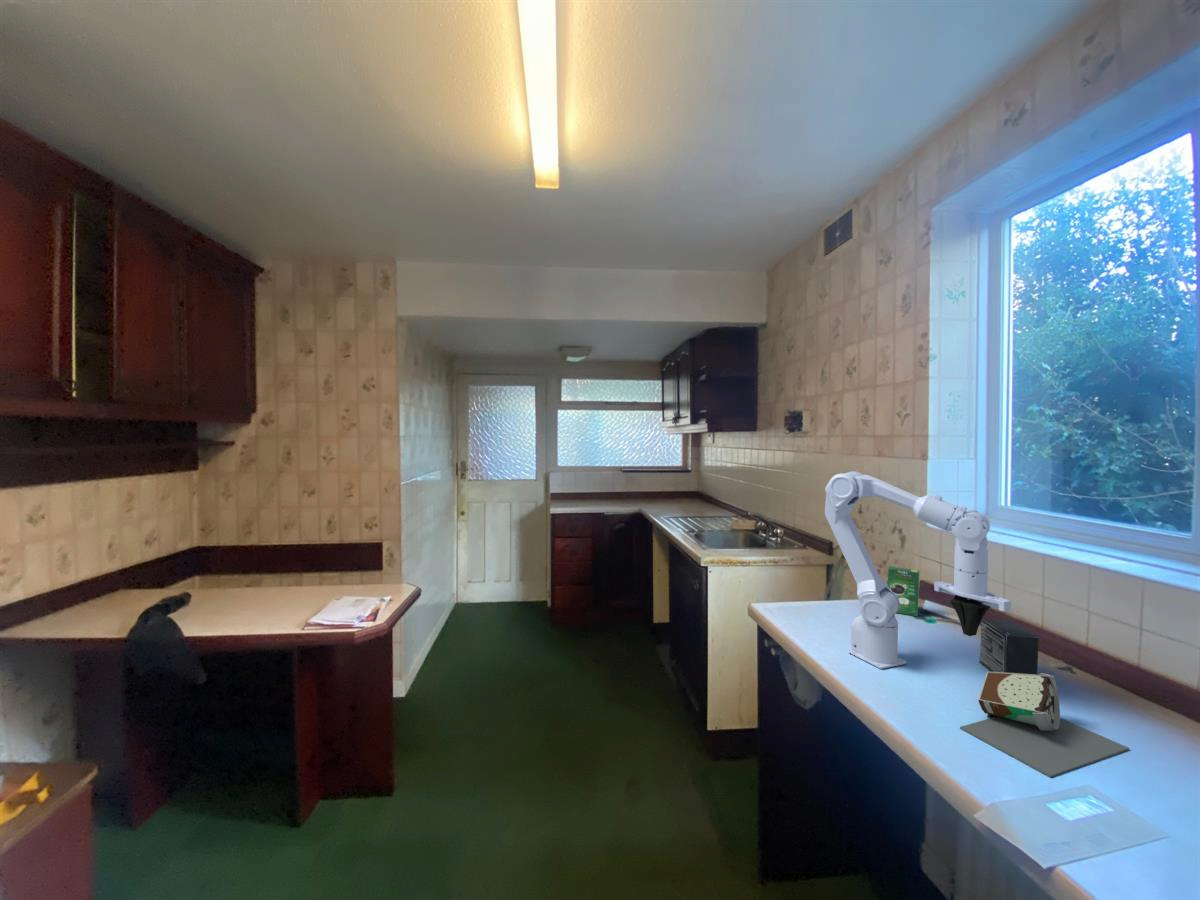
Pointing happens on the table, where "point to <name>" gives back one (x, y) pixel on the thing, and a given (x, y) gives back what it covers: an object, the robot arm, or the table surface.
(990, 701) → the food container
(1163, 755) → the table surface
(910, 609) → the coffee box
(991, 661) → the small box
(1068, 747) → the mat
